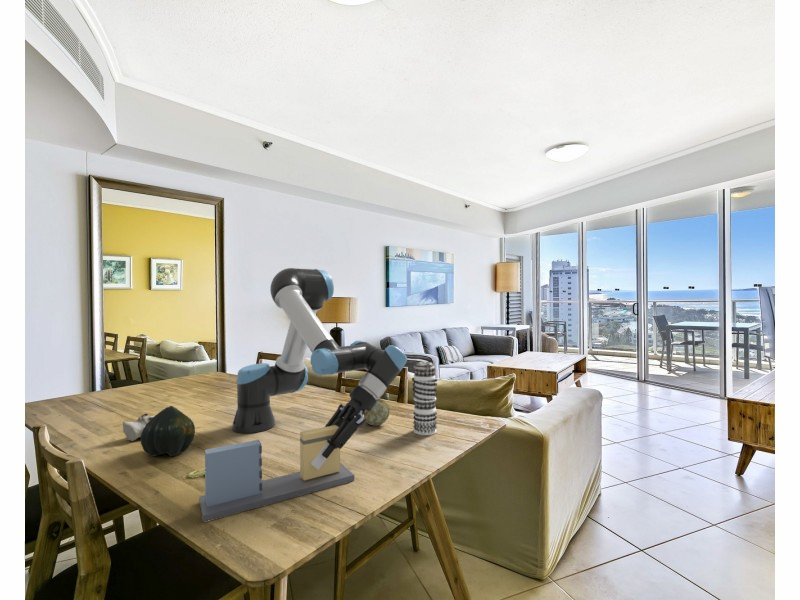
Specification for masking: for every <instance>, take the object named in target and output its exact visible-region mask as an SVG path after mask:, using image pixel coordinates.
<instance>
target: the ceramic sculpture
mask: <svg viewBox="0 0 800 600" xmlns="http://www.w3.org/2000/svg"><path fill="white" fill-rule="evenodd" d="M154 416H155V415H148V413H144V414H142V415H140V416H139V417H138V418H137V420H135V421H123V422H122V430H123V434H124V435H125V437H126V440H127V441H129V440H131V441H130V442H134V440H135V441H136V440H137V439H138V438H141V434H142V431H143V429H144V427H145V426H146V424H147V423H148V422H149V421H150V420H151V419H152V418H153V417H154Z"/></svg>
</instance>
